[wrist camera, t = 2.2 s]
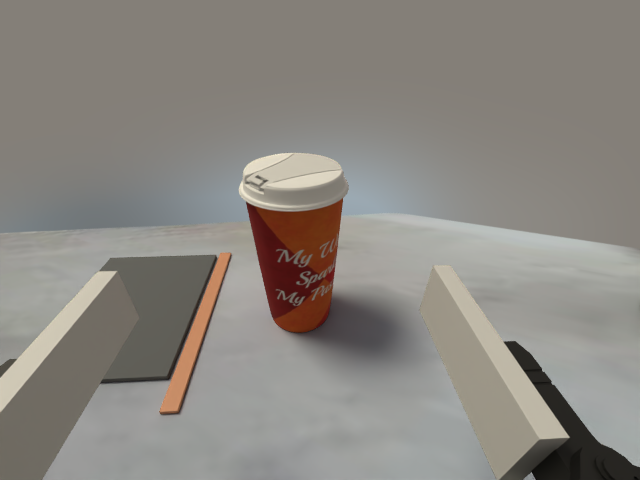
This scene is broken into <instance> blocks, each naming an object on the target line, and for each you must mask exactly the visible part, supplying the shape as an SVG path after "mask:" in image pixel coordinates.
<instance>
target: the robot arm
mask: <svg viewBox="0 0 640 480" xmlns="http://www.w3.org/2000/svg"><path fill="white" fill-rule="evenodd" d="M420 313H421V315H422V317H423V319H424V321H425V324H426V326H427V328H428V330H429V332H430V335H431V337H432V339H433V341H434V343H435V346H436V348H437V350H438V352H439V354H440V357H441V359H442V361H443V363H444V365H445V367H446V370H447V372H448V374H449V376H450V378H451V381H452V383H453V385H454V387H455V389H456V392H457V394H458V396H459V398H460V400H461V403H462V405H463V407H464V409H465V411H466V414H467V416H468V418H469V420H470V422H471V424H472V427H473V429H474V431H475V433H476V435H477V438H478V440H479V442H480V444H481V446H482V449H483V451H484V453H485V455H486V457H487V460H488V462H489V464H490V466H491V468H492V471H493V473H494V475H495V477H496V479H497V480H523V479H524V478H525V477H526V476H527V475H528V474H530V473H531V472H532V474H533V475H534V477H535V479H536V480H640V467H637V466H634V465H632V464H631V463H630V462H629V461H628V460H627V459H626V458H625V457H624V456H622V455H621V454H619V453H618V452H616V451H615V450H613V449H612V448H609V447H607V446H604V445H602V444H600V443H599V442H598V441H597V440H596V439H595V438H594V436H593V435H592V434H591V433H590V432H589V430H588V429H587V428H586V426H585V425H584V424H583V422H582V421H581V420H580V418H579V417H578V416H577V415H576V413H575V412H574V411H573V409H572V408H571V407H570V405H569V404H568V403H567V401H566V400H565V399H564V397H563V396H562V395H561V393H560V392H559V391H558V389H557V388H556V387H555V385H552V383H551V382H552V381H551V380H550V379H549V377H548V376H547V375H546V374H545V372H543V371H542V368H541V367H540V366H539V364H538V363H537V362H536V360H535V359H534V358H533V356H532V355H531V354H530V353H529V352H528V351H527V350H525V349H524V348H523V347H522V346H520V345H519V344H518V343H517V342H516V341H508V342H503V341H502V339H501V338H500V336H499V335H498V333H497V332H496V331H495V329H494V328H493V326H492V325H491V323H490V322H489V320H488V319H487V318H486V316H485V315H484V313H483V312H482V310H481V309H480V307H479V306H478V305H477V303H476V302H475V300H474V299H473V297H472V296H471V295H470V293H469V292H468V290H467V289H466V287H465V286H464V284H463V283H462V282H461V280H460V279H459V277H458V276H457V274H456V273H455V271H454V270H453V269H452V267H451V266H450V265H441V266H433V267H432V271H431V274H430V277H429V280H428V284H427V287H426V290H425V293H424V297H423V300H422V303H421V306H420ZM138 319H139V315H138V313H137V311H136V309H135V307H134V305H133V303H132V301H131V299H130V297H129V294H128V292H127V290H126V288H125V286H124V284H123V282H122V280H121V278H120V276H119V273H118V271H98V272H97V273H96V274H95V275H94V276H93V277H92V278H91V279H90V280H89V281H88V283H87V284H86V285H85V286H84V287H83V288H82V289H81V290H80V291H79V292H78V293H77V295H76V296H75V297H74V298H73V299H72V300H71V301H70V302H69V303H68V304H67V306H66V307H65V308H64V309H63V310H62V311H61V312H60V313H59V314H58V315H57V316H56V318H55V319H54V320H53V321H52V322H51V323H50V324H49V325H48V326H47V327H46V328H45V330H44V331H43V332H42V333H41V334H40V335H39V336H38V337H37V338H36V339H35V340H34V342H33V343H32V344H31V345H30V346H29V347H28V348H27V349H26V350H25V351H24V352H23V354H22V355H21V356H20V357H19V358H18V359H9V360H8V361H7V362H5V363H4V364H2V365H1V366H0V480H42V479H43V477H44V476H45V474H46V472H47V471H48V469H49V467H50V466H51V464H52V462H53V461H54V459H55V457H56V456H57V454H58V452H59V451H60V449H61V447H62V446H63V444H64V442H65V441H66V439H67V437H68V436H69V434H70V432H71V431H72V429H73V427H74V426H75V424H76V422H77V421H78V419H79V417H80V416H81V414H82V412H83V411H84V409H85V407H86V406H87V404H88V402H89V401H90V399H91V397H92V396H93V394H94V392H95V391H96V389H97V388H98V386H99V384H100V383H101V381H102V379H103V378H104V376H105V374H106V373H107V371H108V369H109V368H110V366H111V364H112V363H113V361H114V359H115V358H116V356H117V354H118V353H119V351H120V349H121V348H122V346H123V344H124V343H125V341H126V339H127V338H128V336H129V334H130V333H131V331H132V329H133V328H134V326H135V324H136V323H137V321H138Z"/></svg>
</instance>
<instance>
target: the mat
mask: <svg viewBox="0 0 640 480" xmlns="http://www.w3.org/2000/svg"><path fill="white" fill-rule="evenodd" d="M216 258H217V257H216V255H195V256H161V257H127V258H110V259H109V261H108V262H107V263H106V264H105V265H104V266H103V267H102V268H101V270H100V271H118V273H119V276H120V278H121V280H122V282H123V284H124V286H125V288H126V290H127V292H128V294H129V297H130V299H131V301H132V303H133V305H134V307H135V309H136V311H137V313H138V315H139V319H138V321H137V323H136V324H135V326H134V328H133V329H132V331H131V333H130V334H129V336H128V338H127V339H126V341H125V343H124V344H123V346H122V348H121V349H120V351H119V353H118V354H117V356H116V358H115V359H114V361H113V363H112V364H111V366H110V368H109V369H108V371H107V373H106V374H105V376H104V378H103V379H102V381H101V382H119V381H139V380H159V379H169V377H170V374H171V372H172V369H173V366H174V364H175V361H176V359H177V356H178V354H179V351H180V349H181V346H182V344H183V341H184V339H185V336H186V334H187V331H188V329H189V326H190V324H191V321H192V319H193V316H194V313H195V311H196V308H197V306H198V303H199V301H200V298H201V296H202V293H203V291H204V288H205V286H206V283H207V281H208V278H209V276H210V273H211V271H212V268H213V265H214V263H215V260H216Z"/></svg>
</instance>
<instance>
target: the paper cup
mask: <svg viewBox="0 0 640 480" xmlns="http://www.w3.org/2000/svg"><path fill="white" fill-rule="evenodd" d="M348 190H349V185H348V182H347V180H346V179H345V177H344V174H343V171H342V168H341V166H340V165H339V163H337V162H336V161H335V160H332V159H330V158H327V157H324V156H320V155H315V154H305V153H284V154H276V155H270V156H266V157H263V158H260V159H257V160H254V161H253V162H251V163H249V164H248V165H247V166H246V167H245V169H244V172H243V181H242V182H241V184H240V187H239V193H240V196H241V197H242V198H243V199H244V200H245V201H246V204H247V209H248V213H249V218H250V223H251V227H252V232H253V236H254V241H255V245H256V250H257V255H258V260H259V265H260V269H261V273H262V277H263V281H264V286H265V290H266V295H267V299H268V303H269V307H270V311H271V314H272V317H273V319H274V321H275V323H276V324H277V325H278V326H279V327H281V328H282V329H284V330H287V331H290V332H296V333H302V332H308V331H311V330H314V329H316V328H318V327H319V326H320V325H322V324H323V323H324V322H325V320H326V319H327V317H328V314H329V310H330V304H331V297H332V289H333V281H334V272H335V264H336V256H337V247H338V238H339V230H340V221H341V212H342V203H343V197H345V195H346V194H347V192H348Z"/></svg>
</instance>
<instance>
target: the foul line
mask: <svg viewBox="0 0 640 480" xmlns="http://www.w3.org/2000/svg"><path fill="white" fill-rule="evenodd" d="M230 257H231V253H220V256H219V258H218V261H217V263H216V266H215V269H214V271H213V274H212V276H211V279H210V282H209V284H208V287H207V289H206V292H205V294H204V297H203V300H202V302H201V305H200V307H199V310H198V313H197V315H196V318H195V320H194V323H193V326H192V328H191V331H190V333H189V336H188V339H187V341H186V344H185V346H184V349H183V351H182V354H181V357H180V359H179V362H178V364H177V367H176V370H175V372H174V375H173V377H172V380H171V383H170V385H169V388H168V390H167V393H166V396H165V398H164V401H163V403H162V406H161V408H160V411H159V412H160V414H168V413H179V410H180V407H181V404H182V401H183V398H184V395H185V392H186V389H187V386H188V383H189V380H190V377H191V374H192V371H193V368H194V365H195V362H196V359H197V356H198V353H199V350H200V347H201V344H202V341H203V338H204V335H205V332H206V329H207V326H208V323H209V320H210V317H211V314H212V311H213V308H214V305H215V302H216V299H217V296H218V293H219V290H220V287H221V284H222V281H223V278H224V275H225V272H226V269H227V266H228V263H229V260H230Z"/></svg>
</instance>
